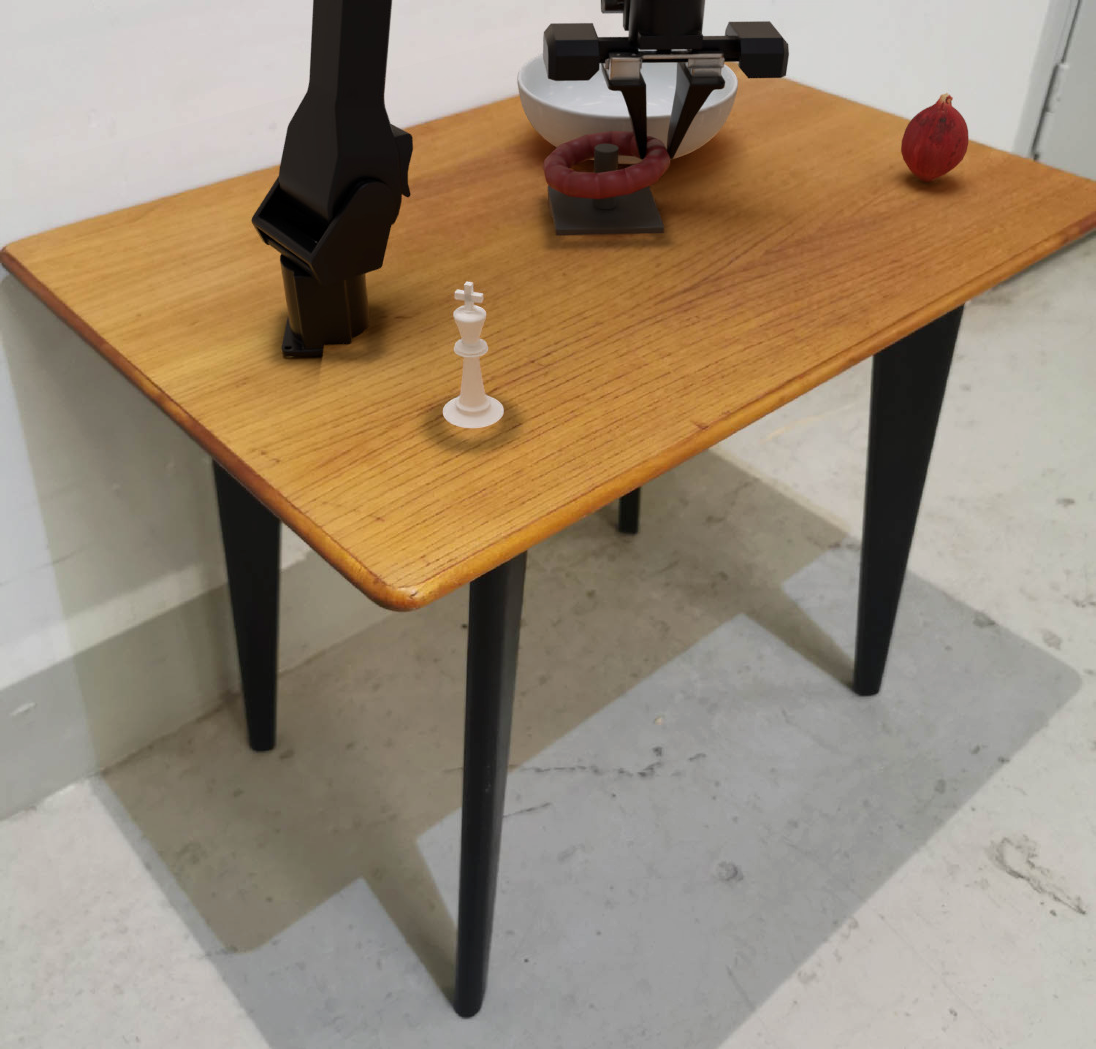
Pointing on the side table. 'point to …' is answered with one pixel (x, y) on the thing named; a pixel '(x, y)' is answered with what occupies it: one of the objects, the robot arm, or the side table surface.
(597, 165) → the post
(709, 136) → the serving bowl
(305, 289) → the robot arm
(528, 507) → the side table surface
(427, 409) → the side table surface
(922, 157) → the onion
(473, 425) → the chess piece
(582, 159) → the ring
